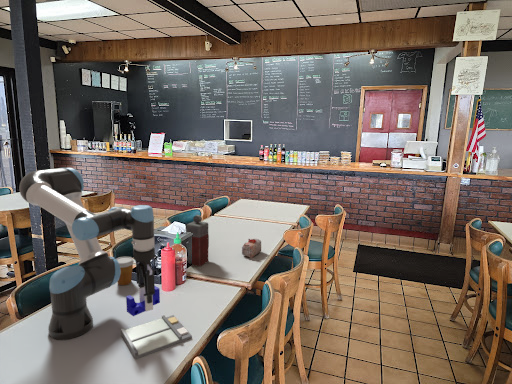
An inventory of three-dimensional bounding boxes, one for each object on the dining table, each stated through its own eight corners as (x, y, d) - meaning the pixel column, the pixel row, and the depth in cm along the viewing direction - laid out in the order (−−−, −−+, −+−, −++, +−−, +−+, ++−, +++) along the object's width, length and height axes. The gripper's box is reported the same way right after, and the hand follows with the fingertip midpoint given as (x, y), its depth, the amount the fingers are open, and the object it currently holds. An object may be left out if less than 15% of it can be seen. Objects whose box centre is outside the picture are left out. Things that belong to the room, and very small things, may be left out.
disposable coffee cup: (126, 276, 179) (124, 254, 177) (138, 281, 175) (137, 258, 172) (110, 283, 171) (108, 260, 169) (122, 288, 166) (121, 265, 164)
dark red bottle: (210, 259, 204) (210, 213, 199) (199, 266, 194) (199, 218, 189) (198, 256, 208) (197, 211, 202) (186, 263, 198) (186, 215, 193)
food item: (252, 259, 207) (252, 243, 205) (240, 256, 210) (241, 241, 208) (262, 252, 219) (262, 237, 217) (251, 249, 222) (251, 235, 220)
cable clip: (133, 316, 125) (132, 300, 124) (126, 311, 128) (126, 296, 127) (162, 304, 134) (161, 289, 132) (155, 299, 137) (155, 285, 135)
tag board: (121, 334, 132) (120, 328, 131) (173, 317, 144) (173, 312, 143) (135, 359, 118) (135, 353, 118) (191, 338, 130) (191, 332, 130)
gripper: (125, 242, 132) (128, 299, 136) (142, 258, 117) (144, 320, 122) (145, 239, 136) (147, 294, 141) (163, 253, 122) (165, 314, 126)
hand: (146, 306), depth 131 cm, fingers closed on cable clip, 5 cm apart
